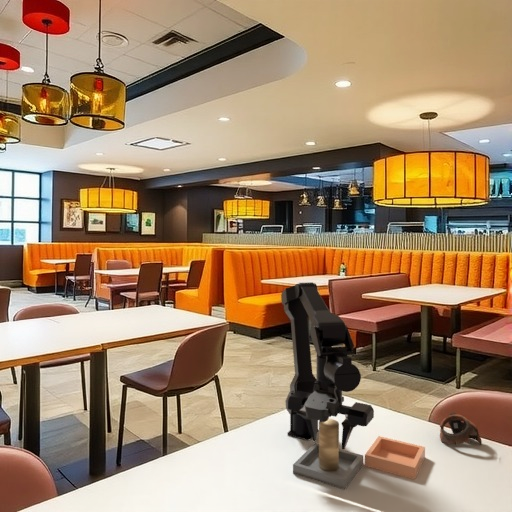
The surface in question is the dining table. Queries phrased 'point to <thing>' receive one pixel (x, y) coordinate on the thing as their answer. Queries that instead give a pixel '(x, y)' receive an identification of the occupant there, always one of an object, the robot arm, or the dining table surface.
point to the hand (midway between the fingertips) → (328, 444)
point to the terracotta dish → (395, 457)
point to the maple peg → (329, 445)
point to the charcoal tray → (338, 478)
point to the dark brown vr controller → (458, 430)
